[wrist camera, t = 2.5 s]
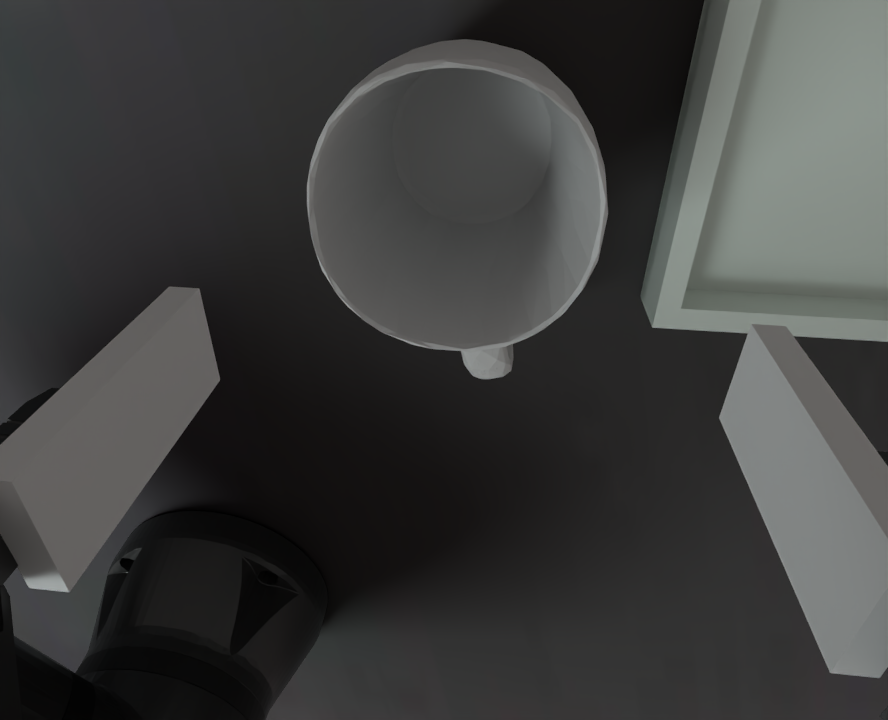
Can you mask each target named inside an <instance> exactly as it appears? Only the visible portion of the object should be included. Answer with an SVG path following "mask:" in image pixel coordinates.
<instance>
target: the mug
mask: <svg viewBox="0 0 888 720" xmlns="http://www.w3.org/2000/svg"><path fill="white" fill-rule="evenodd" d="M307 210H308V218H309V226H310V232H311V238H312V241H313V245H314V249H315V252H316V255H317V258H318V261H319V263H320V266H321V269H322V271H323V273H324V274H325V276H326V278H327V279H328V281H329V282H330V284H331V286H332V287H333V289H334V290H335V292H336V294H337V295H338V296H339V297H340V298H341V300H342V301H343V302H344V303H345V304H346V305H347V307H348V308H350V309H351V310H352V311H353V312H354V313H356V314H357V315H358V316H359V317H360V318H362V319H363V320H364V321H365V322H367V323H368V324H370V325H371V326H373V327H374V328H376V329H377V330H379V331H380V332H382V333H385V334H387V335H390V336H392V337H395V338H397V339H399V340H402V341H404V342H407V343H409V344H412V345H415V346H420V347H425V348H430V349H438V350H453V351H461V354H462V358H463V362H464V365H465V366H466V368H467V369H468V370H469V372H470V373H471V374H472V376H475V377H477V378H480V379H493V378H498V377H503V376H505V375H506V374H507V373H509V372H510V371H511V370H512V364H513V344H514V343H516V342H519V341H522V340H524V339H527V338H529V337H531V336H533V335H535V334H536V333H538V332H540V331H541V330H543V329H545V328H546V327H547V326H548V325H550V324H551V323H553V322H554V321H555V320H556V319H557V318H559V317H560V316H561V315H563V314H564V313H565V311H566V310H567V309H568V308H569V306H570V305H571V304H572V303H573V301H574V300H575V299H576V298H577V296H578V295H579V294H580V293H581V291H582V290H583V289H584V287H585V285H586V283H587V281H588V279H589V277H590V275H591V274H592V272H593V270H594V268H595V266H596V264H597V262H598V260H599V255H600V250H601V245H602V241H603V236H604V231H605V227H606V222H607V217H608V204H607V189H606V175H605V166H604V162H603V159H602V156H601V152H600V149H599V146H598V142H597V139H596V136H595V132H594V129H593V127H592V125H591V124H590V122H589V120H588V118H587V117H586V115H585V113H584V112H583V110H582V108H581V106H580V105H579V103H578V101H577V100H576V98H575V96H574V94H573V93H572V91H571V90H570V89H569V88H568V87H567V86H566V85H565V84H564V83H563V82H562V81H561V80H560V79H559V78H558V77H557V76H556V75H555V74H554V73H553V72H552V71H550V70H549V69H548V68H547V67H546V66H545V65H544V64H543V63H541V62H540V61H538V60H536V59H535V58H533V57H531V56H530V55H528V54H526V53H525V52H523V51H520V50H516V49H513V48H509V47H505V46H501V45H498V44H494V43H489V42H485V41H478V40H469V39H460V40H450V41H440V42H437V43H433V44H429V45H426V46H422V47H419V48H415V49H413V50H411V51H409V52H407V53H405V54H402V55H400V56H398V57H396V58H394V59H392V60H390V61H388V62H386V63H385V64H383V65H382V66H380V67H378V68H377V69H375V70H374V71H373V72H371V73H370V74H369V75H368V76H367V77H365V78H364V79H363V80H362V81H361V82H360V83H358V84H357V85H356V86H355V87H354V88H353V89H352V90H351V91H350V92H349V93H348V95H347V96H346V97H345V98H344V100H343V101H342V102H341V103H340V105H339V106H338V107H337V108H336V110H335V111H334V112H333V114H332V115H331V116H330V118H329V119H328V121H327V123H326V125H325V127H324V129H323V131H322V133H321V135H320V137H319V139H318V142H317V145H316V148H315V151H314V154H313V157H312V160H311V164H310V170H309V175H308V181H307Z"/></svg>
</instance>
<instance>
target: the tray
mask: <svg viewBox="0 0 888 720" xmlns="http://www.w3.org/2000/svg"><path fill="white" fill-rule="evenodd" d="M640 298H641V300H642V303H643V305H644V308H645V310H646V313H647V316H648V318H649V321H650V323H651V326H652V328H667V329H684V330H700V331H717V332H734V333H748V332H749V329H750V326H751V324H761V325H776V326H786V327H787V328H788V330H789V331H790V332H791V334H792V335H793V336H800V337H817V338H833V339H850V340H866V341H883V342H888V0H704V4H703V9H702V14H701V18H700V23H699V27H698V32H697V37H696V41H695V46H694V50H693V55H692V60H691V64H690V69H689V73H688V78H687V83H686V87H685V92H684V96H683V101H682V106H681V110H680V115H679V119H678V124H677V129H676V133H675V138H674V142H673V147H672V152H671V156H670V161H669V166H668V170H667V175H666V179H665V184H664V189H663V193H662V198H661V202H660V207H659V212H658V216H657V221H656V225H655V230H654V235H653V239H652V244H651V248H650V253H649V258H648V262H647V267H646V271H645V276H644V281H643V285H642V290H641V294H640Z"/></svg>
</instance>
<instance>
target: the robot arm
mask: <svg viewBox="0 0 888 720" xmlns="http://www.w3.org/2000/svg"><path fill="white" fill-rule="evenodd" d="M219 381H220V376H219V372H218V367H217V363H216V359H215V354H214V350H213V346H212V341H211V337H210V333H209V328H208V324H207V320H206V315H205V311H204V307H203V302H202V298H201V294H200V289H199V288H185V287H168V288H167V289H166V290H165V291H164V292H163V293H162V294H161V295H160V296H159V297H158V298H157V299H156V300H154V301H153V302H152V303H151V304H150V305H149V306H148V307H147V308H146V309H145V310H144V311H143V312H142V313H141V314H139V315H138V316H137V317H136V318H135V319H134V320H133V321H132V322H131V323H130V324H129V325H128V326H127V327H126V328H125V329H123V330H122V331H121V332H120V333H119V334H118V335H117V336H116V337H115V338H114V339H113V340H112V341H111V342H110V343H109V344H107V345H106V346H105V347H104V348H103V349H102V350H101V351H100V352H99V353H98V354H97V355H96V356H95V357H94V358H92V359H91V360H90V361H89V362H88V363H87V364H86V365H85V366H84V367H83V368H82V369H81V370H80V371H79V372H78V373H76V374H75V375H74V376H73V377H72V378H71V379H70V380H69V381H68V382H67V383H66V384H65V385H64V386H63V387H61V388H60V389H58V388H51V389H49V390H47V391H46V392H44V393H42V394H40V395H38V396H37V397H35V398H33V399H31V400H29V401H27V402H26V403H25V404H24V405H22V406H21V407H20V408H19V409H18V410H17V411H16V412H15V413H14V414H12V415H11V416H10V417H9V418H8V419H7V423H2V424H1V425H0V720H266V717H267V714H268V712H269V710H270V709H271V707H272V706H273V704H274V703H275V701H276V700H277V698H278V697H279V695H280V694H281V692H282V691H283V689H284V688H285V687H286V685H287V684H288V682H289V681H290V679H291V678H292V676H293V675H294V673H295V672H296V670H297V669H298V667H299V666H300V665H301V663H302V662H303V660H304V659H305V657H306V656H307V654H308V653H309V651H310V650H311V649H312V647H313V646H314V644H315V642H316V640H317V638H318V636H319V633H320V630H321V626H322V623H323V620H324V616H325V613H326V609H327V605H328V593H327V588H326V585H325V582H324V580H323V577H322V576H321V574H320V572H319V570H318V569H317V567H316V566H315V565H314V564H313V562H312V561H311V560H310V559H309V558H308V557H307V556H306V555H305V554H304V553H303V552H302V551H301V550H300V549H299V548H297V547H296V546H295V545H294V544H292V543H291V542H289V541H288V540H287V539H285V538H283V537H282V536H280V535H279V534H277V533H275V532H273V531H271V530H269V529H267V528H265V527H263V526H261V525H258V524H256V523H253V522H251V521H248V520H245V519H242V518H238V517H234V516H231V515H226V514H221V513H215V512H206V511H181V512H173V513H168V514H164V515H160V516H157V517H154V518H152V519H150V520H148V521H146V522H144V523H143V524H141V525H140V526H138V527H137V528H136V529H135V530H134V531H133V532H132V533H131V535H130V536H129V537H128V539H127V540H126V542H125V543H124V545H123V546H122V548H121V549H120V551H119V552H118V554H117V555H116V557H115V559H114V560H113V562H112V564H111V567H110V569H109V572H108V576H107V580H106V584H105V588H104V592H103V595H102V599H101V603H100V607H99V611H98V615H97V619H96V623H95V627H94V631H93V635H92V638H91V642H90V646H89V650H88V652H87V654H86V656H85V658H84V660H83V661H82V663H81V665H80V666H79V668H78V670H77V671H76V673H74V672H72V671H70V670H69V669H67V668H66V667H64V666H63V665H61V664H60V663H58V662H56V661H55V660H53V659H51V658H50V657H48V656H46V655H45V654H43V653H41V652H40V651H38V650H36V649H35V648H33V647H31V646H30V645H28V644H26V643H25V642H23V641H22V640H20V639H18V638H17V637H15V636H14V634H13V624H12V614H11V604H10V596H9V594H8V592H7V590H6V588H5V586H4V585H3V583H4V582H5V581H6V580H7V579H8V577H9V576H10V575H11V574H12V572H13V571H14V570H15V569H16V568H18V569H19V571H20V573H21V575H22V576H23V578H24V580H25V581H26V583H27V585H28V587H29V588H34V589H43V590H52V591H62V592H70V591H71V589H72V588H73V587H74V585H75V584H76V582H77V581H78V579H79V578H80V577H81V575H82V574H83V572H84V571H85V570H86V568H87V567H88V565H89V564H90V563H91V561H92V560H93V558H94V557H95V556H96V554H97V553H98V551H99V550H100V549H101V547H102V546H103V544H104V543H105V541H106V540H107V539H108V537H109V536H110V534H111V533H112V532H113V530H114V529H115V527H116V526H117V525H118V523H119V522H120V520H121V519H122V518H123V516H124V515H125V513H126V512H127V511H128V509H129V508H130V506H131V505H132V503H133V502H134V501H135V499H136V498H137V496H138V495H139V494H140V492H141V491H142V489H143V488H144V487H145V485H146V484H147V482H148V481H149V480H150V478H151V477H152V475H153V474H154V473H155V471H156V470H157V468H158V467H159V465H160V464H161V463H162V461H163V460H164V458H165V457H166V456H167V454H168V453H169V451H170V450H171V449H172V447H173V446H174V444H175V443H176V442H177V440H178V439H179V437H180V436H181V435H182V433H183V432H184V430H185V429H186V427H187V426H188V425H189V423H190V422H191V420H192V419H193V418H194V416H195V415H196V413H197V412H198V411H199V409H200V408H201V406H202V405H203V404H204V402H205V401H206V399H207V398H208V397H209V395H210V394H211V392H212V391H213V389H214V388H215V387H216V385H217V384H218V382H219ZM719 419H720V421H721V423H722V426H723V428H724V430H725V433H726V435H727V437H728V440H729V442H730V444H731V446H732V449H733V451H734V453H735V456H736V458H737V460H738V462H739V465H740V467H741V469H742V472H743V474H744V476H745V479H746V481H747V483H748V485H749V488H750V490H751V492H752V495H753V497H754V499H755V502H756V504H757V506H758V508H759V511H760V513H761V515H762V518H763V520H764V522H765V525H766V527H767V529H768V531H769V534H770V536H771V538H772V541H773V543H774V545H775V547H776V550H777V552H778V554H779V557H780V559H781V561H782V564H783V566H784V568H785V570H786V573H787V575H788V577H789V580H790V582H791V584H792V587H793V589H794V591H795V593H796V596H797V598H798V600H799V603H800V605H801V607H802V609H803V612H804V614H805V616H806V619H807V621H808V623H809V626H810V628H811V630H812V632H813V635H814V637H815V639H816V642H817V644H818V646H819V649H820V651H821V653H822V655H823V658H824V660H825V662H826V665H827V667H828V669H829V672H830V673H836V674H845V675H855V676H864V677H873V678H880V677H881V675H882V674H883V673H884V671H885V670H886V669H887V667H888V452H879V451H876V449H875V448H874V447H873V445H872V444H871V442H870V441H869V440H868V438H867V437H866V436H865V434H864V433H863V431H862V430H861V429H860V427H859V426H858V425H857V423H856V422H855V420H854V419H853V418H852V416H851V415H850V414H849V412H848V411H847V409H846V408H845V407H844V405H843V404H842V403H841V401H840V400H839V398H838V397H837V396H836V394H835V393H834V392H833V390H832V389H831V387H830V386H829V385H828V383H827V382H826V381H825V379H824V378H823V376H822V375H821V374H820V372H819V371H818V370H817V368H816V367H815V365H814V364H813V363H812V361H811V360H810V359H809V357H808V356H807V354H806V353H805V352H804V350H803V349H802V348H801V346H800V345H799V343H798V342H797V341H796V339H795V338H794V336H793V335H792V334H791V332H790V331H789V330H788V328H787V327H786V326H776V325H761V324H751V326H750V329H749V332H748V335H747V338H746V341H745V344H744V347H743V349H742V352H741V355H740V358H739V361H738V364H737V367H736V370H735V373H734V376H733V379H732V381H731V384H730V387H729V390H728V393H727V396H726V399H725V402H724V405H723V408H722V411H721V413H720V416H719ZM879 717H881V718H882V719H884V720H888V706H887V708H886V709H885V710H884V711H883V712H882V714H881V715H880V716H879Z"/></svg>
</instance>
